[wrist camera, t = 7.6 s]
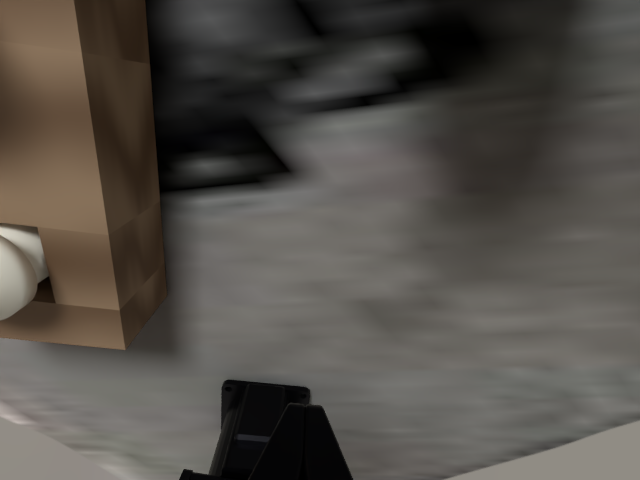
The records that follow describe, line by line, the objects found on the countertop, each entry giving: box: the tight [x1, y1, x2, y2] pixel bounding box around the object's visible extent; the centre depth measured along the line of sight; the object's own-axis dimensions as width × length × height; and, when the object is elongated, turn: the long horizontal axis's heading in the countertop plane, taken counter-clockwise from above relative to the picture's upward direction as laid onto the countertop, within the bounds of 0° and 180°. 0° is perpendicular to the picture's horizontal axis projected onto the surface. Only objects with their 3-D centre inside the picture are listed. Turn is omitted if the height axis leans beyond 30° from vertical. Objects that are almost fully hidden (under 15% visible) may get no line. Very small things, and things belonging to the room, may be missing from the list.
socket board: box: [0, 0, 167, 350], centre depth 15 cm, size 20×10×5 cm, turn 173°
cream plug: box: [0, 223, 49, 320], centre depth 16 cm, size 4×4×6 cm
